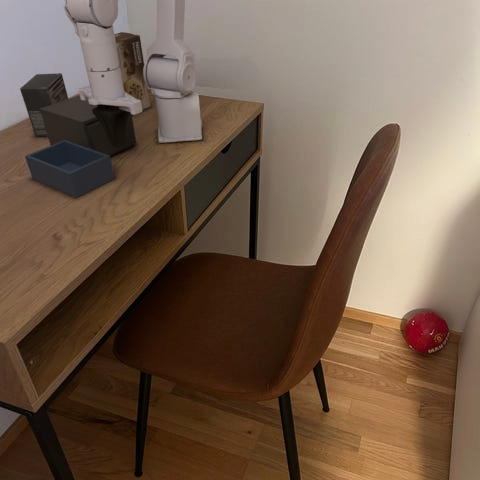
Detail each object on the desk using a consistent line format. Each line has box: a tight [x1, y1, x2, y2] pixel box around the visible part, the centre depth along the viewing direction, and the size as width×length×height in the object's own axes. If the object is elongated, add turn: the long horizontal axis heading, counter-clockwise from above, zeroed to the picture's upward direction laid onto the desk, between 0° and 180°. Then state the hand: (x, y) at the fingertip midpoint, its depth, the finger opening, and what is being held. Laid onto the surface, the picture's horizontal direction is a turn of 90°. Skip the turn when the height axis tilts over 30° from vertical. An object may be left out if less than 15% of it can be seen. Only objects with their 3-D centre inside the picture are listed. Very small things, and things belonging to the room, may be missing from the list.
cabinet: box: [40, 94, 136, 157], centre depth 99 cm, size 13×12×8 cm
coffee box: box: [114, 31, 151, 111], centre depth 113 cm, size 9×6×16 cm
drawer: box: [86, 112, 137, 155], centre depth 98 cm, size 14×11×7 cm
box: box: [24, 140, 115, 199], centre depth 89 cm, size 13×9×5 cm
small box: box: [19, 72, 69, 137], centre depth 107 cm, size 11×6×10 cm, turn 178°
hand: (118, 145), depth 91 cm, fingers closed
